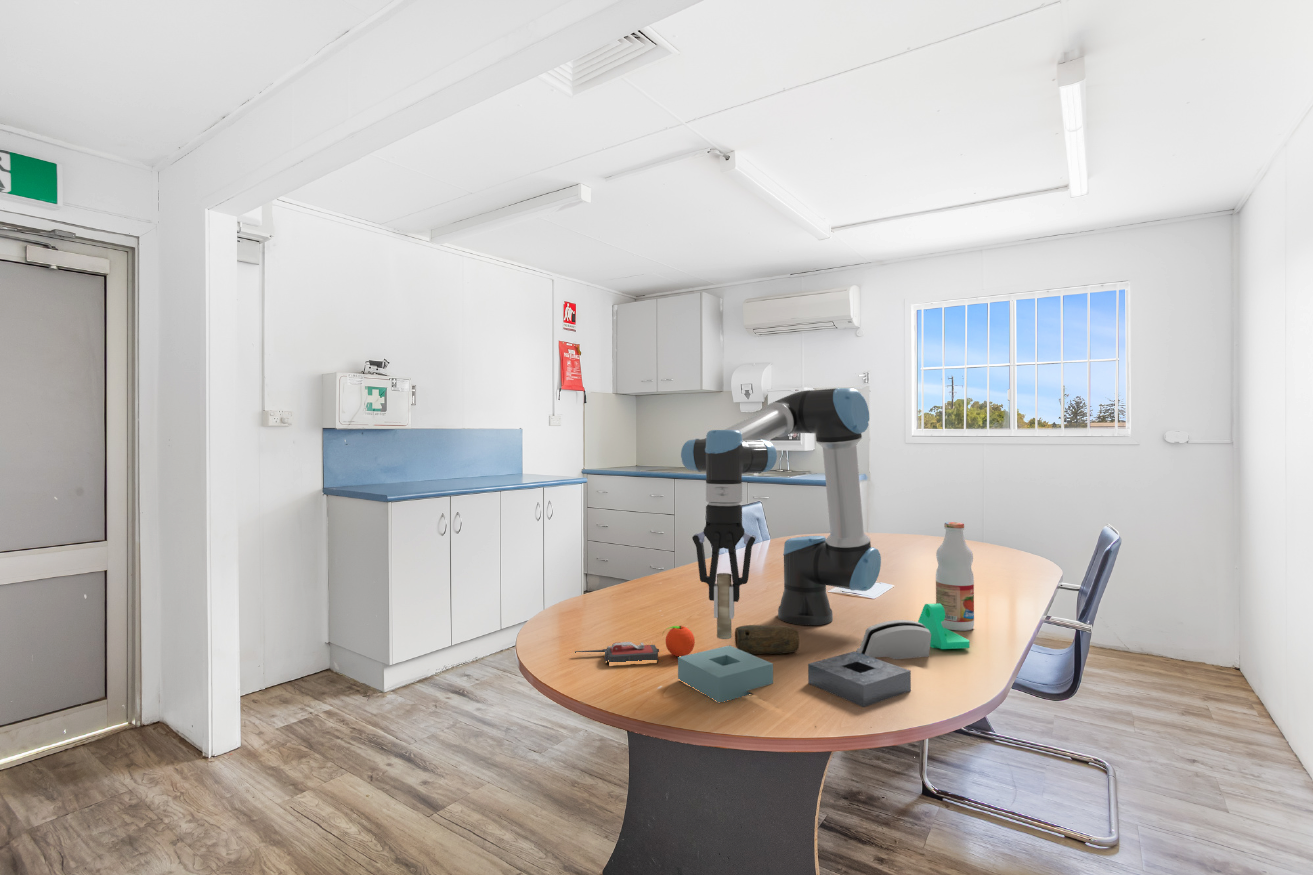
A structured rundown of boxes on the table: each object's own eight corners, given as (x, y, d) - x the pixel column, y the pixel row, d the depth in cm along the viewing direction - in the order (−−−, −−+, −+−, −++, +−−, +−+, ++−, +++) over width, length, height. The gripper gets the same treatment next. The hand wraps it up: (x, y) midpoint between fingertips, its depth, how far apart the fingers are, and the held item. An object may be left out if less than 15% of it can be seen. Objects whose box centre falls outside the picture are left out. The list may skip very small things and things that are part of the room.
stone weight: (739, 659, 150) (739, 630, 150) (732, 649, 157) (732, 622, 157) (802, 656, 152) (802, 628, 152) (792, 647, 159) (792, 619, 159)
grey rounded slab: (916, 649, 156) (925, 614, 153) (928, 662, 152) (937, 626, 148) (853, 654, 152) (861, 618, 149) (864, 668, 148) (872, 631, 145)
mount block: (808, 688, 132) (808, 663, 132) (854, 674, 140) (854, 651, 140) (863, 712, 120) (863, 685, 120) (910, 695, 128) (910, 670, 128)
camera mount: (971, 652, 154) (971, 609, 154) (941, 653, 153) (941, 610, 153) (943, 637, 166) (943, 597, 166) (915, 638, 165) (915, 598, 165)
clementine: (657, 658, 150) (656, 628, 150) (666, 649, 157) (666, 620, 157) (689, 662, 148) (689, 631, 148) (698, 653, 154) (698, 623, 154)
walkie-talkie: (657, 652, 156) (573, 657, 152) (657, 634, 156) (573, 639, 152) (663, 665, 147) (575, 670, 144) (663, 646, 147) (575, 651, 144)
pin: (714, 636, 135) (713, 574, 135) (725, 633, 136) (725, 572, 136) (723, 640, 132) (723, 576, 132) (734, 637, 134) (734, 574, 134)
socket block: (678, 680, 136) (677, 657, 136) (729, 667, 144) (729, 645, 144) (719, 703, 125) (719, 677, 125) (773, 687, 132) (772, 663, 132)
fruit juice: (935, 620, 181) (934, 520, 181) (972, 623, 178) (971, 521, 178) (936, 629, 172) (936, 524, 172) (975, 633, 169) (975, 526, 169)
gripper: (684, 504, 132) (684, 619, 132) (760, 506, 129) (761, 623, 129) (690, 501, 140) (690, 609, 140) (762, 502, 136) (762, 613, 136)
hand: (724, 616), depth 134 cm, fingers closed on pin, 2 cm apart
